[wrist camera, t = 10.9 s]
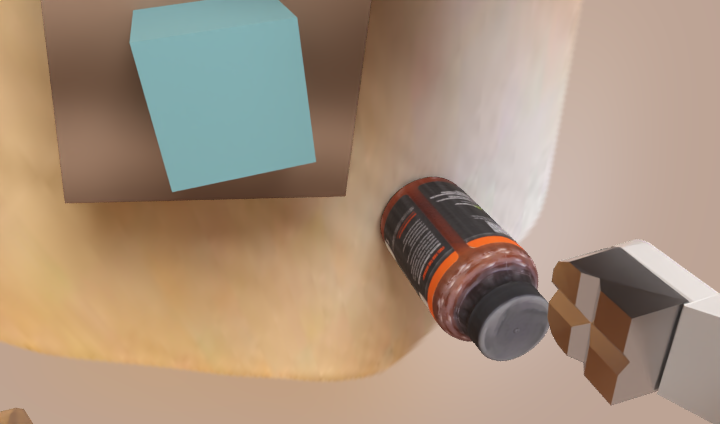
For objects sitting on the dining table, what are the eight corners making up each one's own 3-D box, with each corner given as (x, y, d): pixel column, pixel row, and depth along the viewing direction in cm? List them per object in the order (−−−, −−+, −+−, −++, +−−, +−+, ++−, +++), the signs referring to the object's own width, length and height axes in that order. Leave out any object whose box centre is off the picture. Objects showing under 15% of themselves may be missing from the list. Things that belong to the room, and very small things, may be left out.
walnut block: (50, -135, 23) (24, -138, 18) (339, -92, 27) (382, -85, 22) (79, 146, 28) (65, 203, 23) (315, 147, 32) (345, 196, 27)
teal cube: (133, 10, 21) (129, 42, 17) (269, -9, 22) (297, 17, 18) (167, 137, 23) (172, 192, 19) (287, 114, 25) (316, 161, 20)
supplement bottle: (376, 262, 37) (453, 390, 28) (377, 180, 34) (463, 294, 25) (460, 246, 39) (559, 362, 29) (468, 166, 36) (580, 268, 26)
